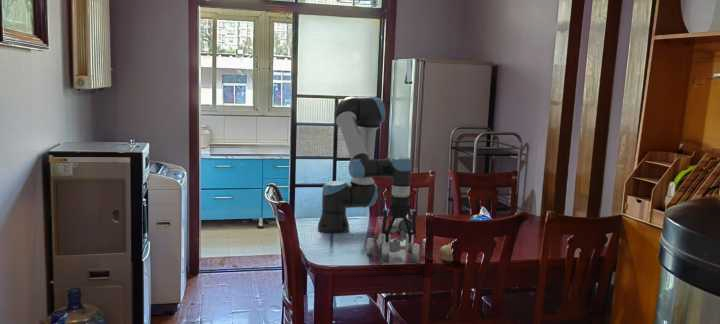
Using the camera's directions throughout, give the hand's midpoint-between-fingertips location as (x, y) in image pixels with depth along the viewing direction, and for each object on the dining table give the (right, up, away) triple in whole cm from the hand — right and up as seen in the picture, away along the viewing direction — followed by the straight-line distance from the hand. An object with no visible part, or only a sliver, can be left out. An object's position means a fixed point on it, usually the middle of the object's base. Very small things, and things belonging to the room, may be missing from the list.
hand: (397, 250), depth 221 cm
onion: (+20, -4, -4) cm, 21 cm away
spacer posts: (0, -2, 0) cm, 2 cm away
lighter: (0, 0, 0) cm, 1 cm away
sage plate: (-1, 0, +16) cm, 16 cm away
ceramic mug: (+4, +2, +39) cm, 39 cm away
